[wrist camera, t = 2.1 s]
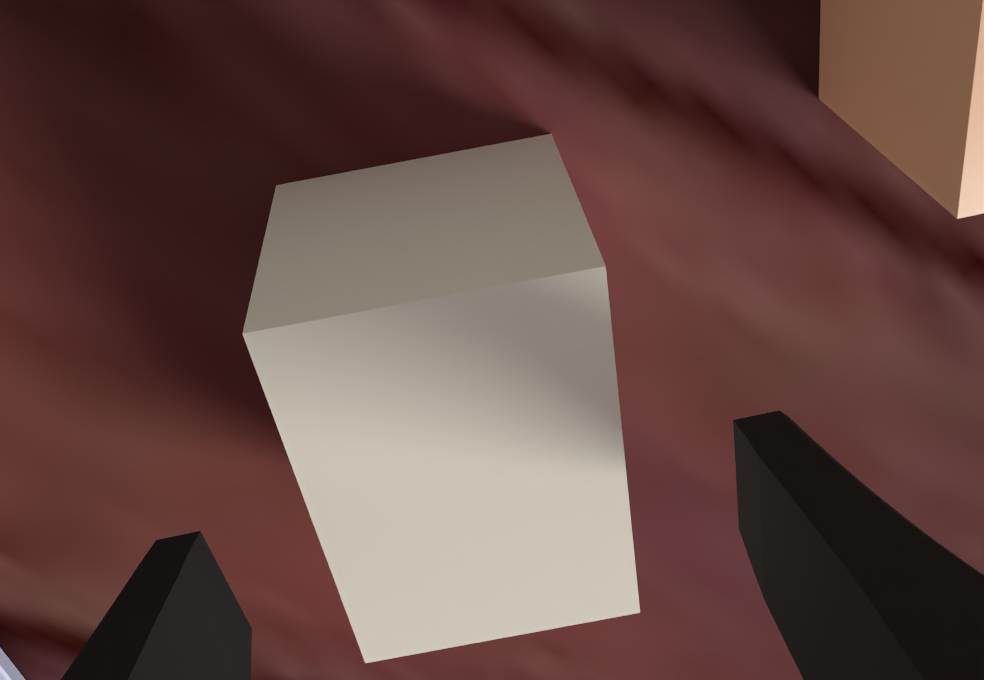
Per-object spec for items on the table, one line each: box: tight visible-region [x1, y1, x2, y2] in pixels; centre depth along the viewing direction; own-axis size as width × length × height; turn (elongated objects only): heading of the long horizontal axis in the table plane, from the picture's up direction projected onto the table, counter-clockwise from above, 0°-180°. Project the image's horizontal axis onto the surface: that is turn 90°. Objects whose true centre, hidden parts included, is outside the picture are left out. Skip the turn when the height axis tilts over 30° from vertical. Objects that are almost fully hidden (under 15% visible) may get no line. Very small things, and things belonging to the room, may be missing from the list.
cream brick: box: [242, 134, 640, 663], centre depth 15 cm, size 4×6×4 cm
